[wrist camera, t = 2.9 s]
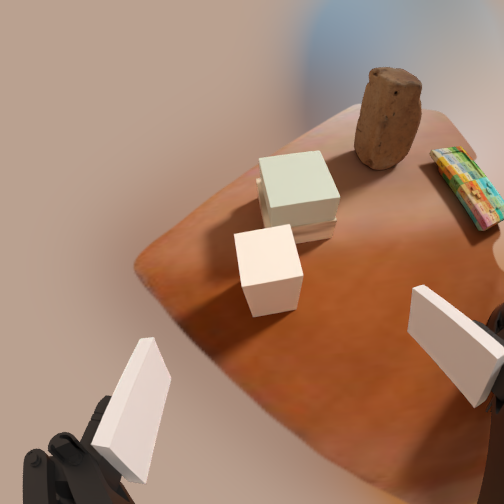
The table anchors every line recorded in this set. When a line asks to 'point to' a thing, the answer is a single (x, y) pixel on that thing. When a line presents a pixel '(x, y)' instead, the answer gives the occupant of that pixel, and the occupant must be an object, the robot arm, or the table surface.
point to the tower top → (298, 189)
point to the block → (388, 117)
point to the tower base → (300, 231)
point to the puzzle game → (470, 186)
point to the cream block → (269, 269)
